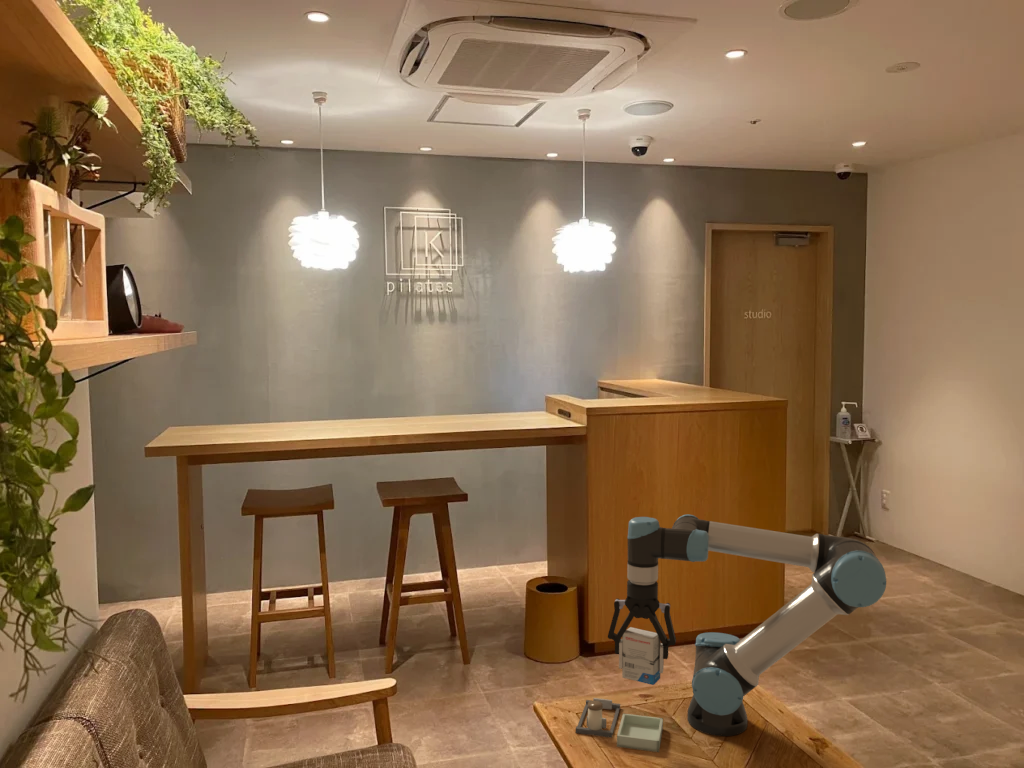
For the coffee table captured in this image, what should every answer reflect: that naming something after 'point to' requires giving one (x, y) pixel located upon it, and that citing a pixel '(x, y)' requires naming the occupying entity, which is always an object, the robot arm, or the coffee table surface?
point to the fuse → (595, 715)
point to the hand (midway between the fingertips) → (641, 668)
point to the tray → (640, 732)
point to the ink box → (641, 656)
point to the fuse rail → (605, 733)
